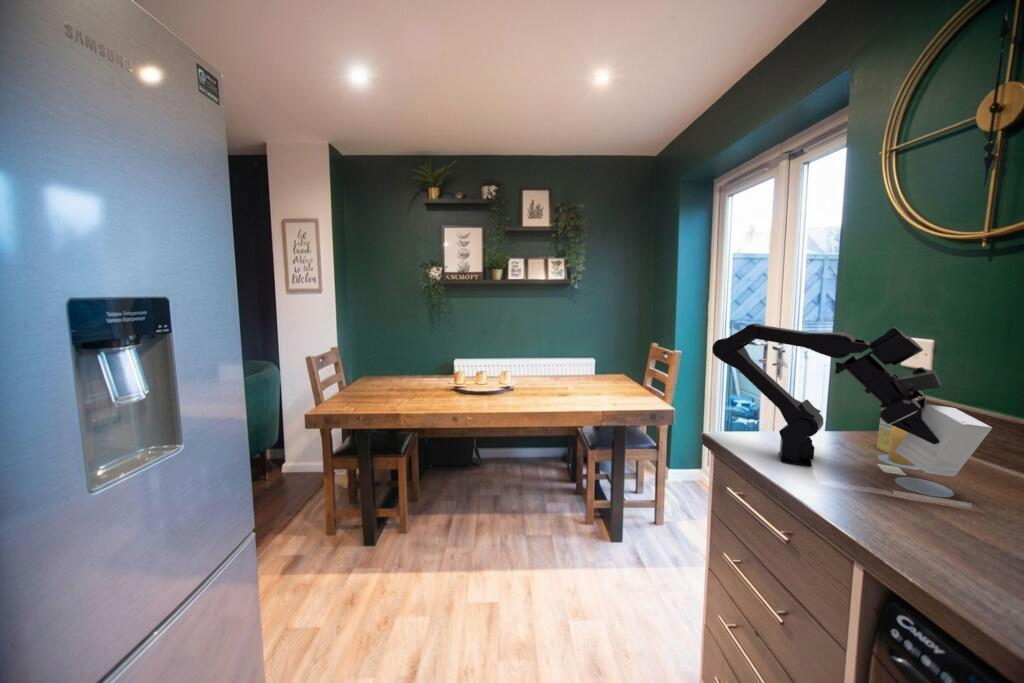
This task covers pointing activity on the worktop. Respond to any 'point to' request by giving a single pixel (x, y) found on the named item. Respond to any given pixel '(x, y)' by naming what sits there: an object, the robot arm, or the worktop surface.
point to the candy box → (884, 435)
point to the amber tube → (895, 441)
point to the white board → (918, 485)
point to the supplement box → (944, 441)
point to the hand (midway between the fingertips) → (937, 437)
